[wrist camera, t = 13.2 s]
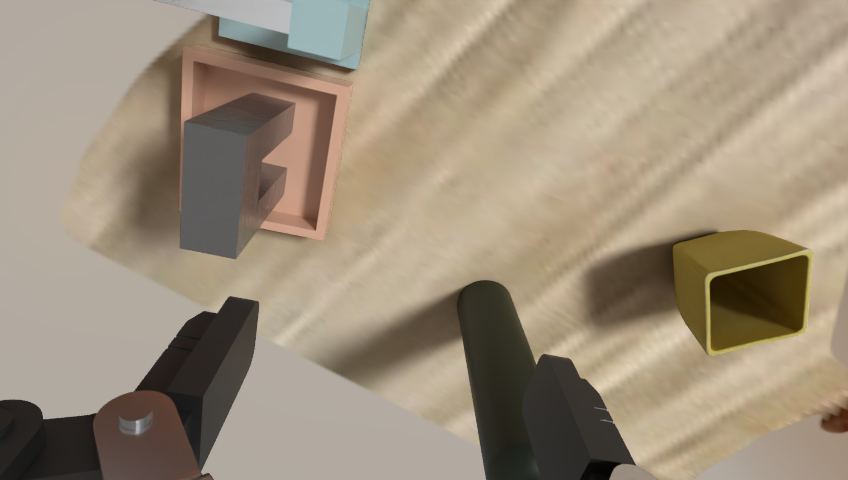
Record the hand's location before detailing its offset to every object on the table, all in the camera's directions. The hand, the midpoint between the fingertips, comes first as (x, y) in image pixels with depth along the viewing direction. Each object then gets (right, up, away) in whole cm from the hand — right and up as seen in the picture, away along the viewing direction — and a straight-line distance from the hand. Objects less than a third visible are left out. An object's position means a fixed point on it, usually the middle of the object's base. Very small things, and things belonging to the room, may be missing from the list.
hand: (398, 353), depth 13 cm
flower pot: (+29, +1, +35) cm, 45 cm away
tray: (-13, +12, +28) cm, 33 cm away
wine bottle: (+7, -3, +36) cm, 37 cm away
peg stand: (-11, +22, +24) cm, 34 cm away
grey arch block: (-13, +11, +28) cm, 33 cm away
